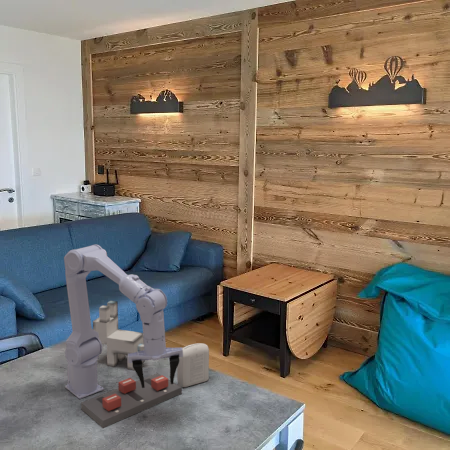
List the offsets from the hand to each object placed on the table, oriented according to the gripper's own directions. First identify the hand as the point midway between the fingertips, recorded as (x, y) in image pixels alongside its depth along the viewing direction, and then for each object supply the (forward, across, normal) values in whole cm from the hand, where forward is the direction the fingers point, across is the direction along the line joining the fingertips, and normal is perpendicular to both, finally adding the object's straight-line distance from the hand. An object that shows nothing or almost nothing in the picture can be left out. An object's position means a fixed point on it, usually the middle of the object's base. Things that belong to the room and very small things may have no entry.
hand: (157, 384), depth 130 cm
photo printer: (+9, +11, +18) cm, 23 cm away
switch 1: (+6, -13, +3) cm, 14 cm away
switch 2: (+6, -9, +12) cm, 16 cm away
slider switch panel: (+8, -7, +9) cm, 14 cm away
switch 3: (+6, +1, +12) cm, 13 cm away
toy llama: (+7, -10, +34) cm, 37 cm away
